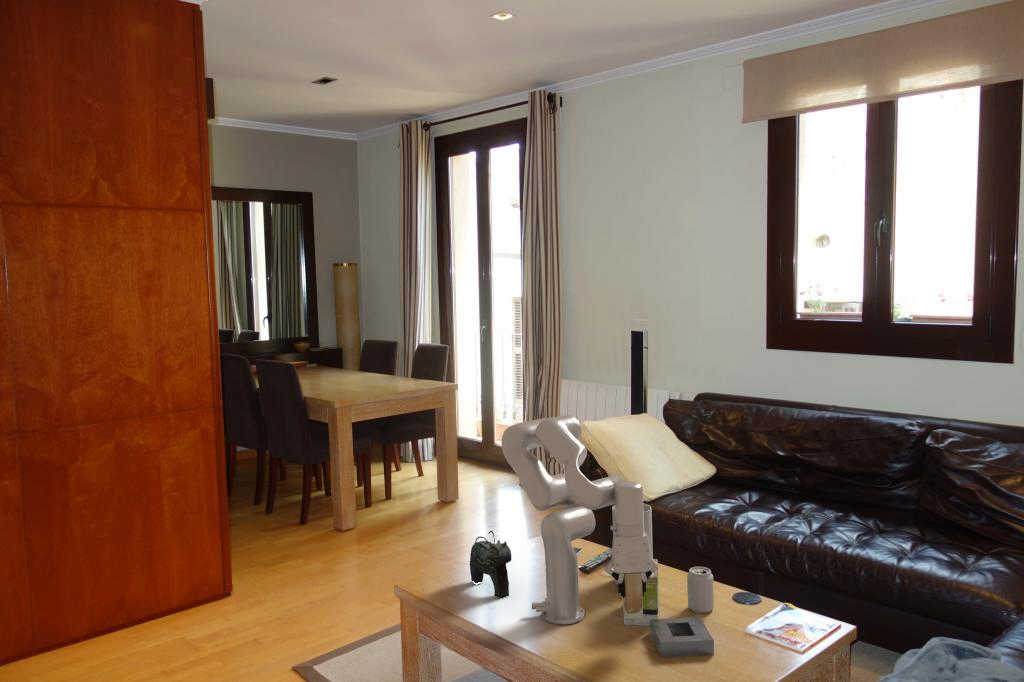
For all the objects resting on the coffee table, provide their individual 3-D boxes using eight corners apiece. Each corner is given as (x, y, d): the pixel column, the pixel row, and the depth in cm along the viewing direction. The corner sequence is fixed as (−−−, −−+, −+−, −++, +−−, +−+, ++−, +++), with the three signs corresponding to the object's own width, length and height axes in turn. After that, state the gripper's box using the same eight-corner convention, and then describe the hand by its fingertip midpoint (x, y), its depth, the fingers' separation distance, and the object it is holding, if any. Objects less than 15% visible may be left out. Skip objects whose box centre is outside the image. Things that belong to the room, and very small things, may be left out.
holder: (660, 657, 205) (660, 642, 204) (650, 633, 219) (649, 619, 218) (714, 654, 205) (713, 640, 205) (699, 630, 219) (699, 616, 219)
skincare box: (622, 609, 214) (620, 566, 213) (637, 608, 214) (636, 564, 213) (627, 619, 207) (626, 574, 206) (643, 618, 208) (642, 573, 207)
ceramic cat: (515, 597, 247) (512, 535, 246) (497, 602, 244) (495, 540, 242) (481, 578, 264) (479, 520, 262) (465, 583, 260) (462, 524, 258)
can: (714, 615, 229) (713, 575, 228) (688, 613, 230) (687, 574, 229) (713, 604, 236) (712, 565, 235) (687, 603, 237) (686, 564, 237)
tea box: (659, 627, 222) (657, 576, 221) (623, 625, 224) (622, 575, 223) (659, 605, 237) (657, 557, 236) (625, 603, 239) (624, 556, 238)
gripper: (600, 534, 205) (602, 602, 206) (664, 531, 205) (666, 599, 207) (596, 526, 213) (599, 591, 214) (658, 522, 213) (660, 588, 214)
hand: (632, 594), depth 210 cm, fingers closed on skincare box, 4 cm apart
